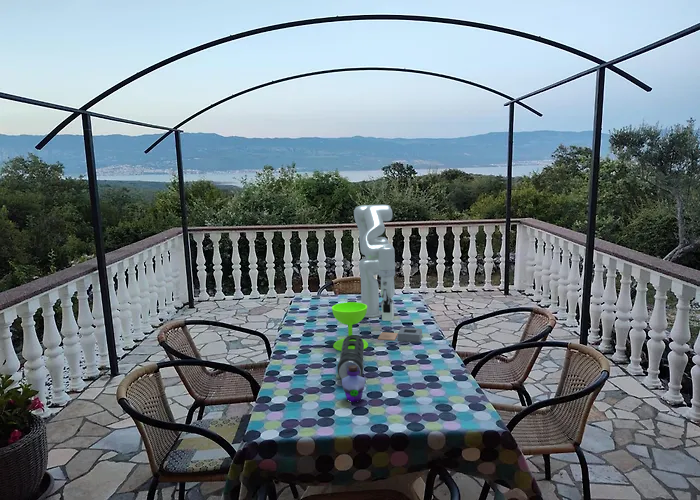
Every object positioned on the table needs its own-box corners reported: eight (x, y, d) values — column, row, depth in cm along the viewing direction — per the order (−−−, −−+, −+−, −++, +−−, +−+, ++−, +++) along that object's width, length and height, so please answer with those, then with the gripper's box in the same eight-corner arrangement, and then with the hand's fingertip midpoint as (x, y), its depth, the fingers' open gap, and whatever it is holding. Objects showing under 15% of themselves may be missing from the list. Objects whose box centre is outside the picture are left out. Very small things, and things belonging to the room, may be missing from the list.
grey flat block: (397, 340, 219) (397, 333, 218) (401, 334, 227) (401, 327, 227) (419, 342, 216) (419, 334, 216) (422, 335, 225) (422, 328, 224)
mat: (377, 339, 221) (377, 338, 221) (381, 333, 230) (381, 332, 230) (394, 340, 219) (394, 339, 219) (398, 334, 228) (398, 333, 228)
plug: (382, 320, 222) (381, 301, 221) (383, 318, 225) (382, 299, 224) (392, 320, 221) (392, 302, 219) (394, 318, 224) (393, 300, 223)
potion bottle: (347, 407, 158) (346, 373, 156) (337, 396, 166) (336, 364, 164) (370, 401, 161) (369, 368, 160) (360, 391, 169) (359, 359, 167)
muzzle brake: (364, 357, 201) (364, 334, 199) (363, 386, 173) (362, 359, 172) (342, 357, 202) (341, 334, 200) (337, 386, 174) (336, 360, 172)
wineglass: (375, 344, 216) (374, 305, 213) (351, 354, 204) (350, 314, 201) (349, 336, 226) (348, 300, 224) (325, 346, 215) (324, 308, 212)
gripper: (391, 276, 211) (392, 316, 213) (397, 269, 227) (398, 306, 229) (375, 276, 213) (376, 315, 215) (382, 269, 229) (383, 306, 231)
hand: (387, 310), depth 222 cm, fingers closed on plug, 3 cm apart
